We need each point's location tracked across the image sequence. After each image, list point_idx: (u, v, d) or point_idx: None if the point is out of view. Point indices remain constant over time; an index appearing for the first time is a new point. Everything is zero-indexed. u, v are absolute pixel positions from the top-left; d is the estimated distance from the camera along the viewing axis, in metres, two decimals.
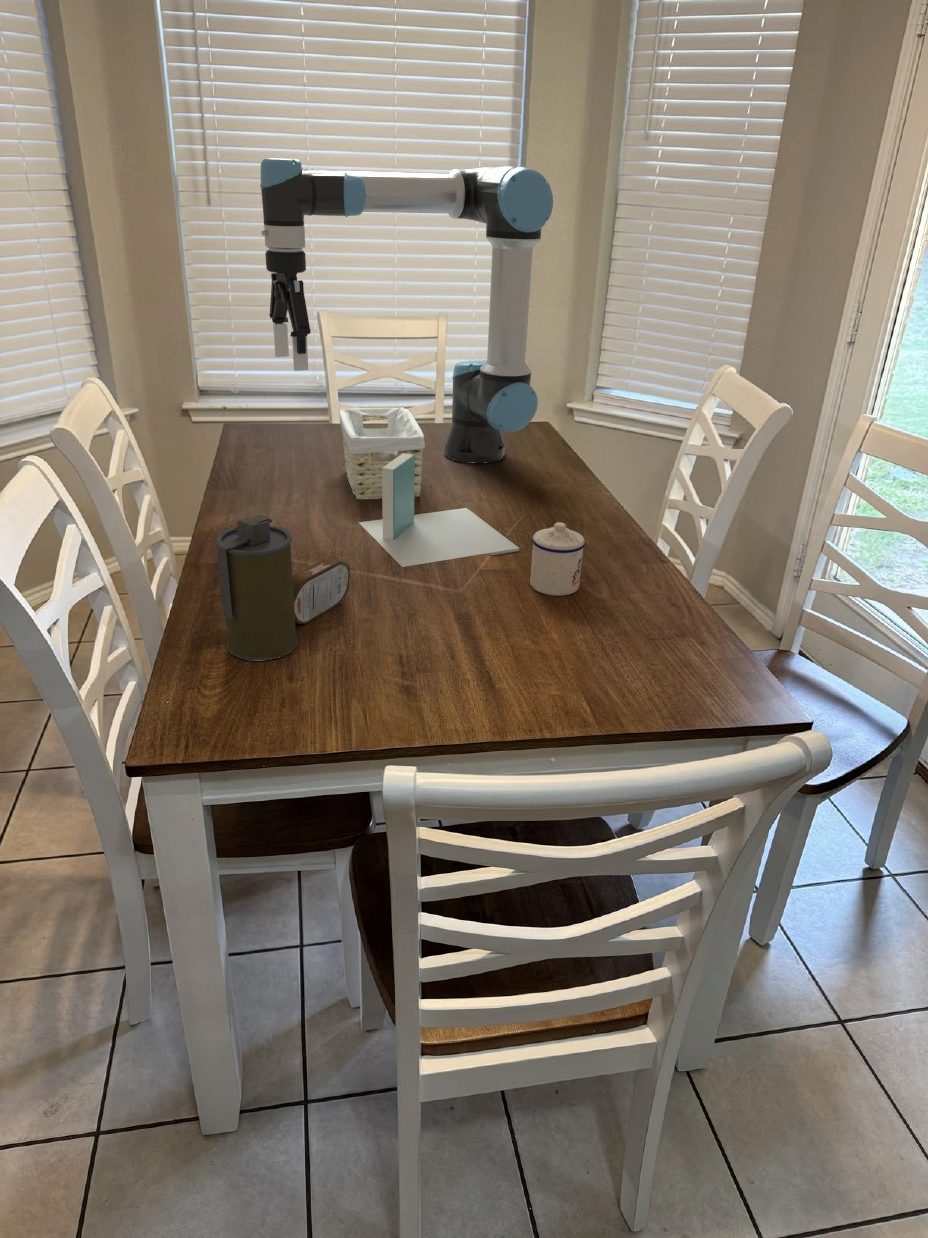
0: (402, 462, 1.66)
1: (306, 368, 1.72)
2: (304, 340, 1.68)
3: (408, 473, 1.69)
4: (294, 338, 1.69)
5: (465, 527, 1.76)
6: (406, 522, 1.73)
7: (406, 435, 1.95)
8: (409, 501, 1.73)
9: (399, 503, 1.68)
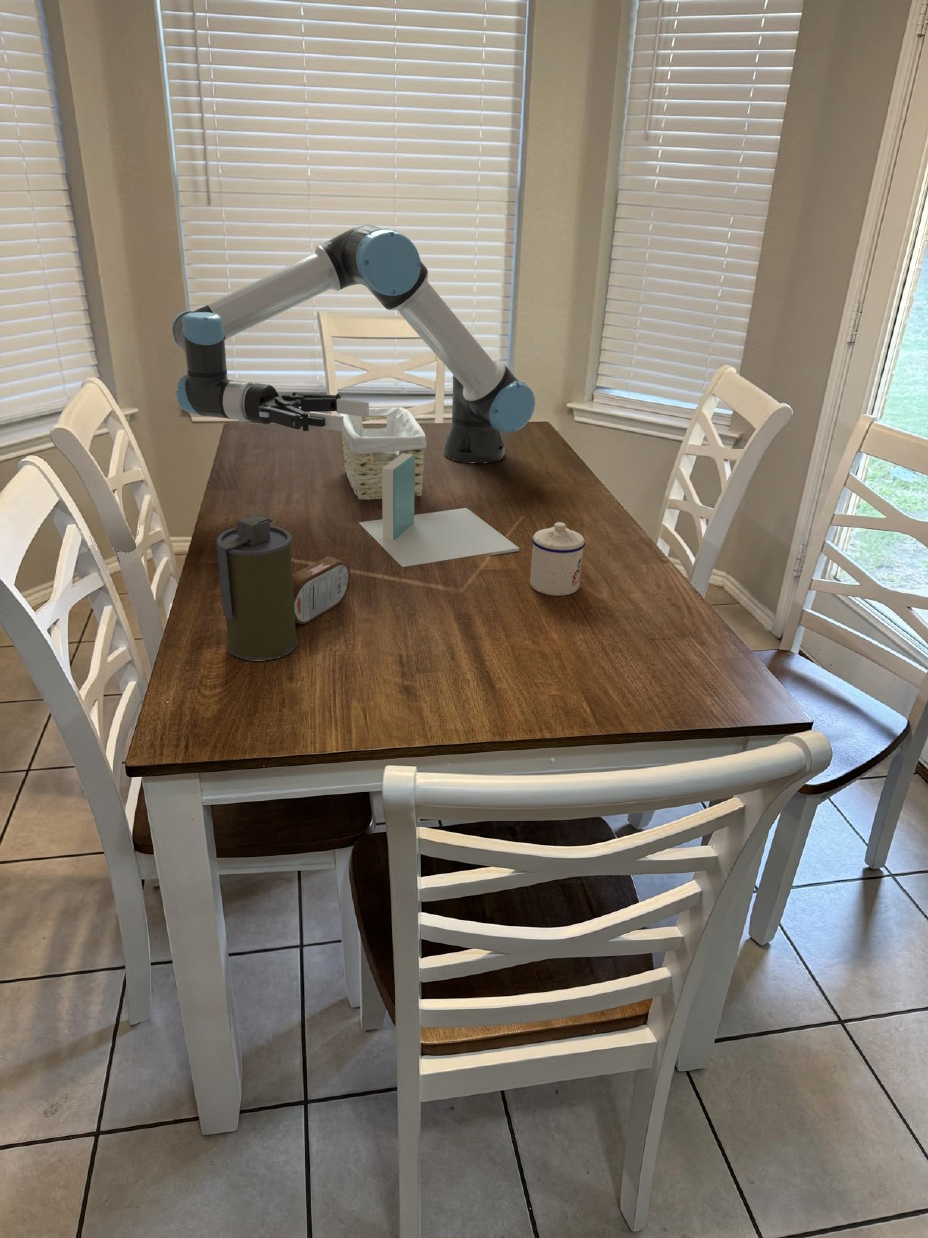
0: (402, 462, 1.66)
1: (340, 418, 1.60)
2: (309, 418, 1.61)
3: (408, 473, 1.69)
4: (312, 425, 1.63)
5: (465, 527, 1.76)
6: (406, 522, 1.73)
7: (406, 435, 1.96)
8: (409, 501, 1.73)
9: (399, 503, 1.68)
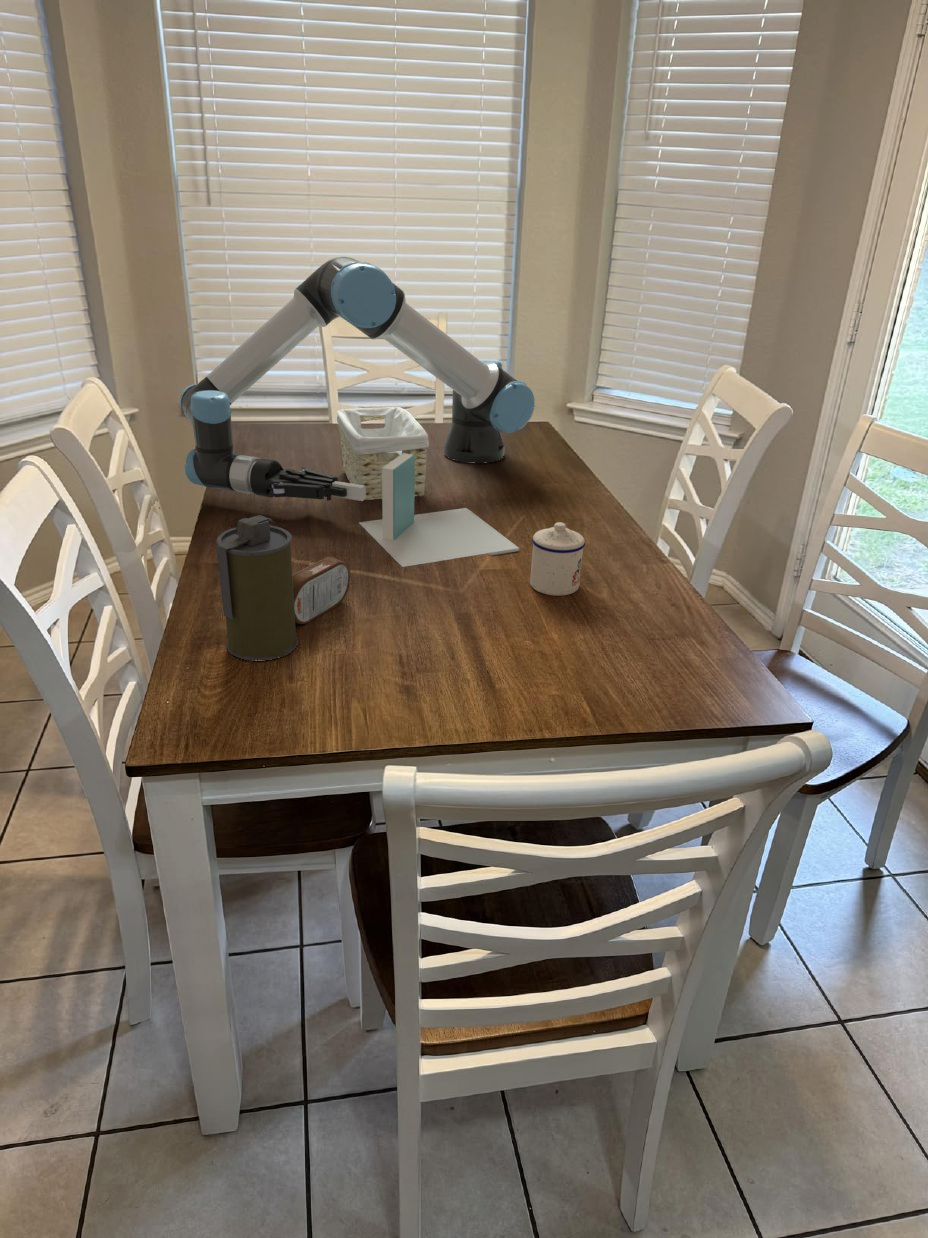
0: (402, 462, 1.66)
1: (361, 489, 1.71)
2: (332, 489, 1.72)
3: (408, 473, 1.69)
4: None
5: (465, 527, 1.76)
6: (406, 522, 1.73)
7: (406, 434, 1.96)
8: (409, 501, 1.73)
9: (399, 503, 1.68)
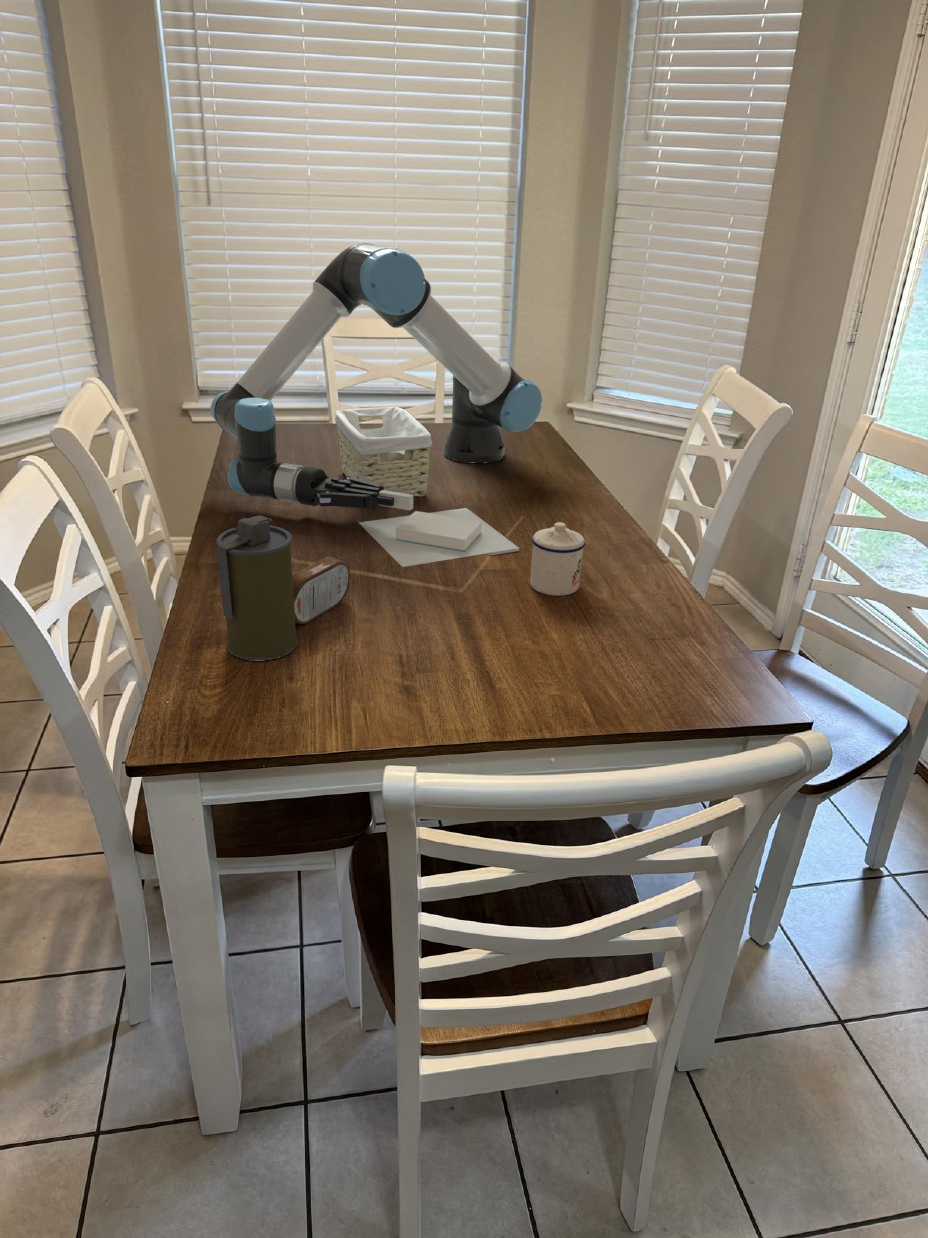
0: (472, 541, 1.69)
1: (408, 498, 1.68)
2: (379, 498, 1.69)
3: None
4: (381, 504, 1.71)
5: None
6: None
7: (406, 434, 1.96)
8: None
9: None
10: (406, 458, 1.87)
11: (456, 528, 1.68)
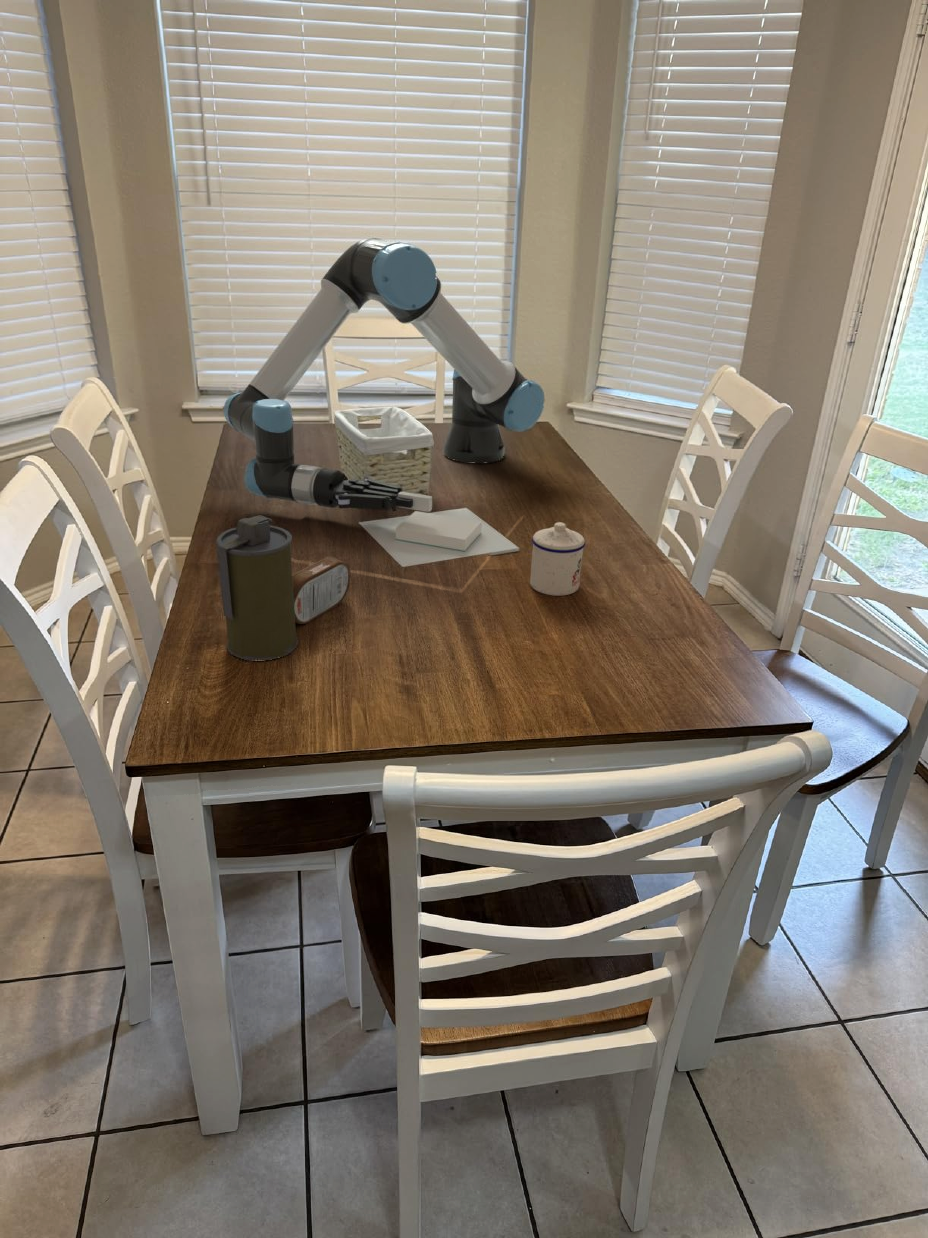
0: (472, 541, 1.69)
1: (428, 500, 1.68)
2: (398, 500, 1.68)
3: None
4: (399, 506, 1.70)
5: None
6: None
7: (406, 434, 1.96)
8: None
9: None
10: (408, 458, 1.87)
11: (456, 528, 1.68)
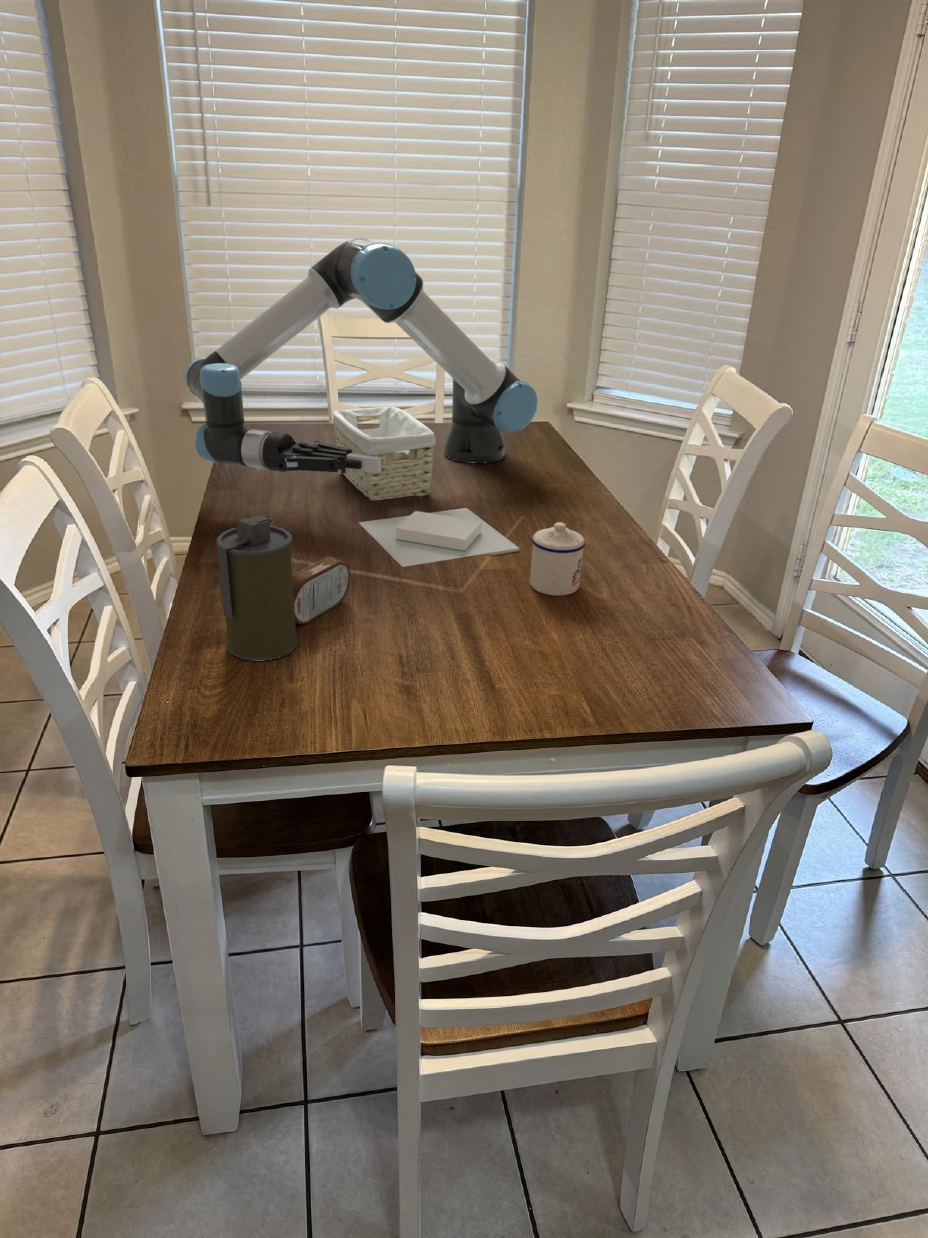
0: (472, 541, 1.69)
1: (376, 461, 1.67)
2: (347, 461, 1.68)
3: None
4: (348, 468, 1.70)
5: None
6: None
7: (406, 433, 1.97)
8: None
9: None
10: (410, 457, 1.88)
11: (456, 528, 1.68)
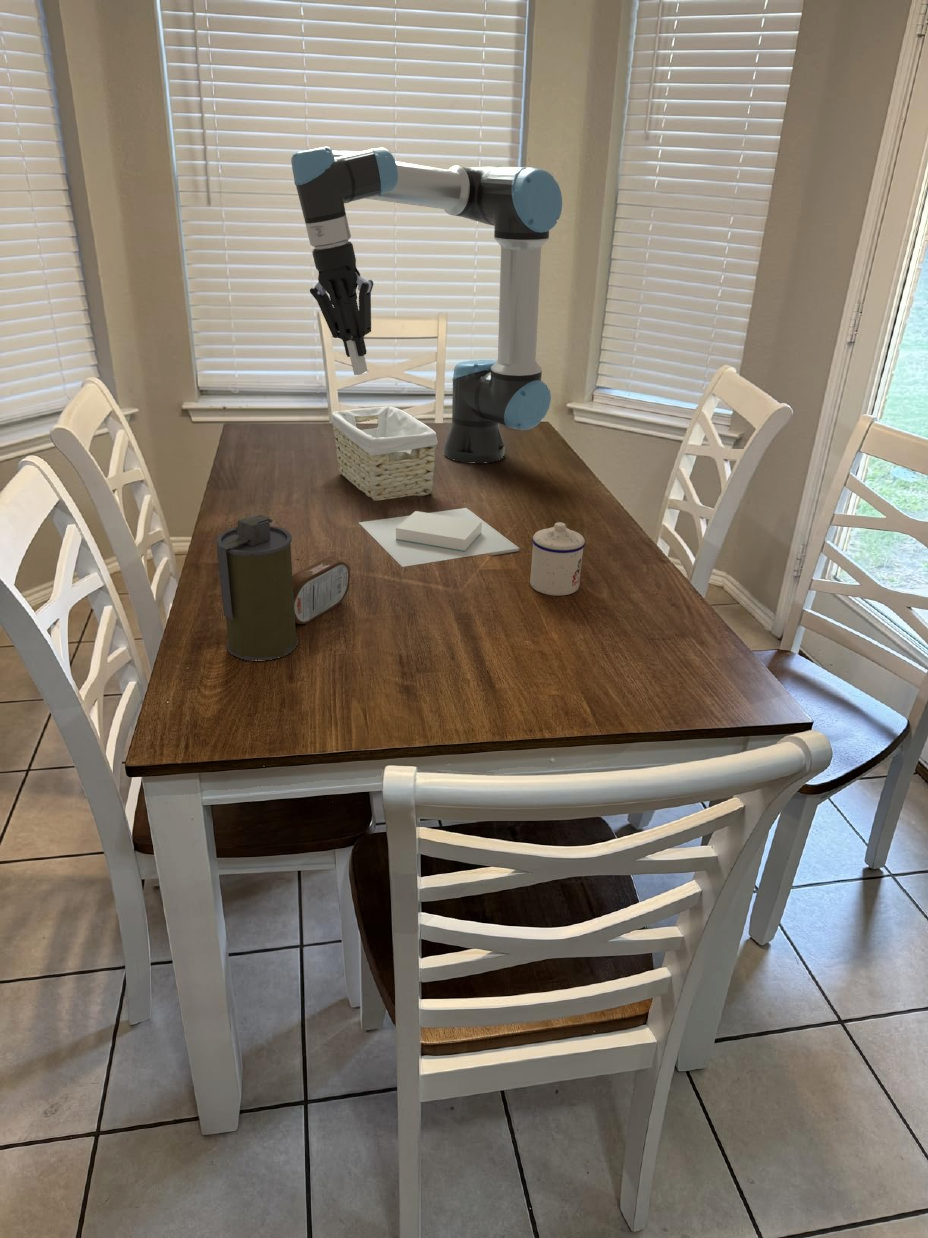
0: (472, 541, 1.69)
1: (366, 369, 1.72)
2: (363, 341, 1.68)
3: None
4: (354, 342, 1.68)
5: None
6: None
7: (406, 433, 1.97)
8: None
9: None
10: (412, 457, 1.88)
11: (456, 528, 1.68)
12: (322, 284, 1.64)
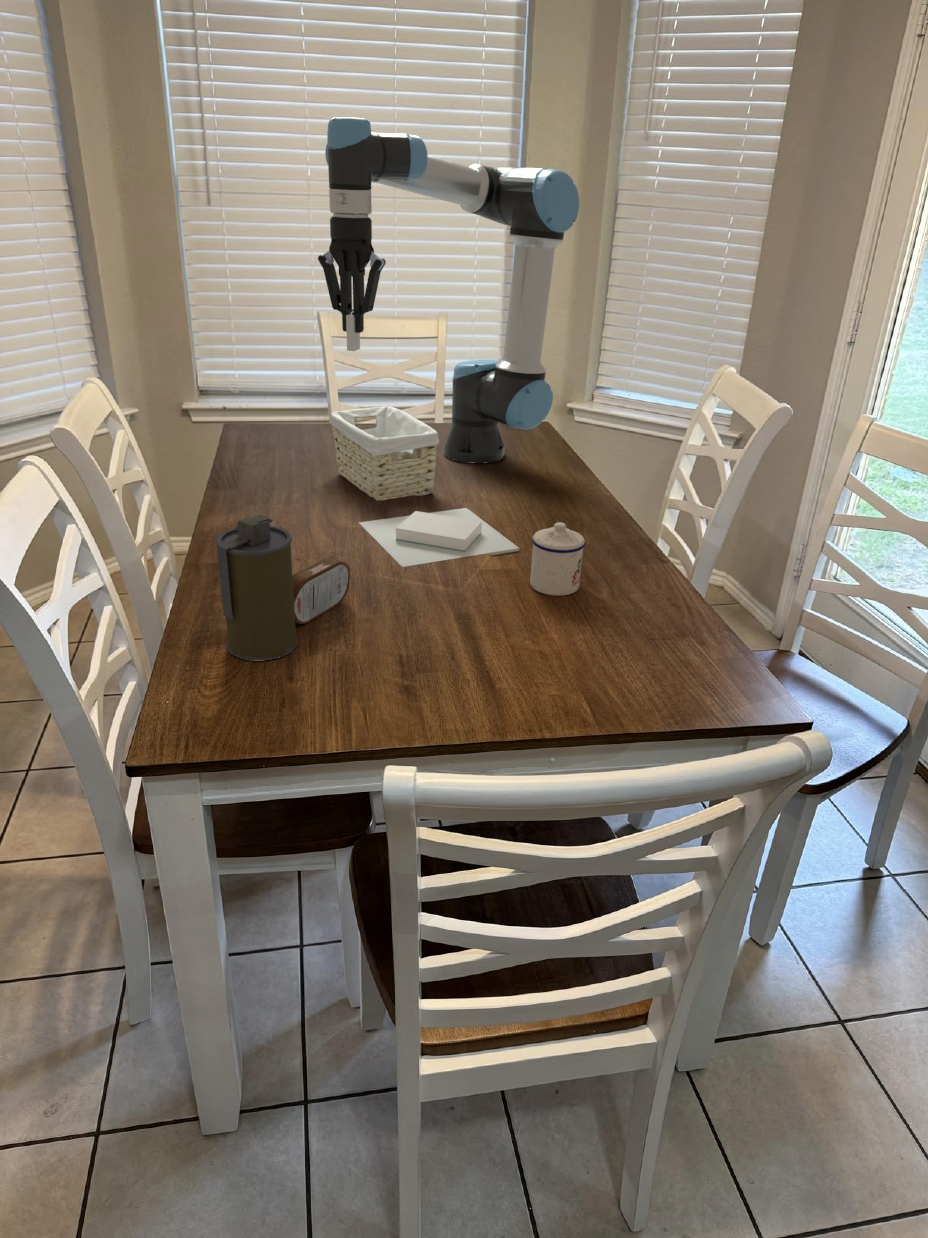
0: (472, 541, 1.69)
1: (359, 347, 1.71)
2: (363, 318, 1.67)
3: None
4: (354, 317, 1.66)
5: None
6: None
7: (406, 433, 1.97)
8: None
9: None
10: (414, 456, 1.88)
11: (456, 528, 1.68)
12: (333, 253, 1.62)
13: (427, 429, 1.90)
